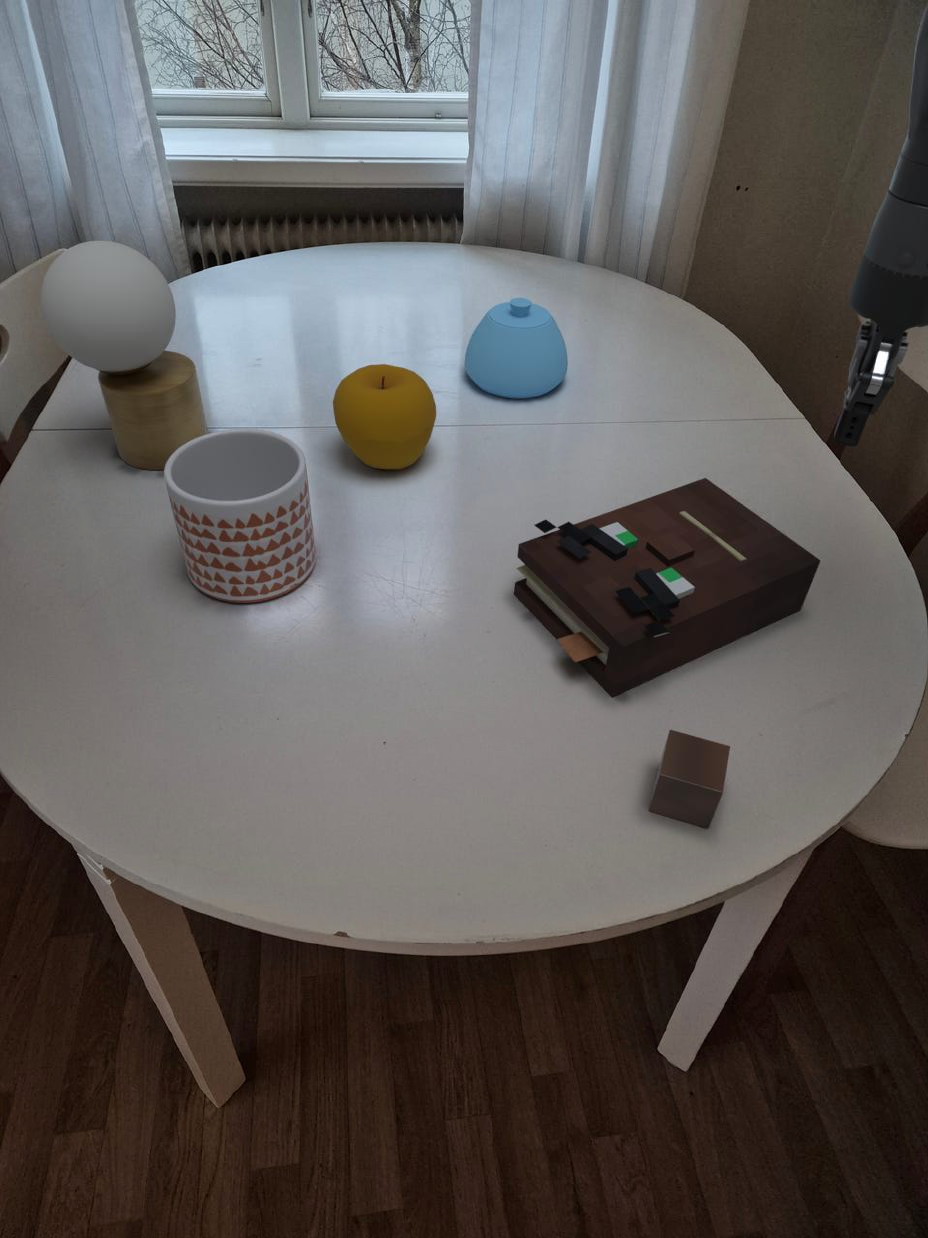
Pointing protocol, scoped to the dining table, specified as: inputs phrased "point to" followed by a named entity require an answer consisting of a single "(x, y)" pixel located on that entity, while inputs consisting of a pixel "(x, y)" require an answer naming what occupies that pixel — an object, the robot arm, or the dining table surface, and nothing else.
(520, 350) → the sugar bowl
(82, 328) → the lamp
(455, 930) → the dining table surface
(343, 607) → the dining table surface
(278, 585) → the planter
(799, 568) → the decorative book
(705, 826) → the walnut block
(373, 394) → the apple
